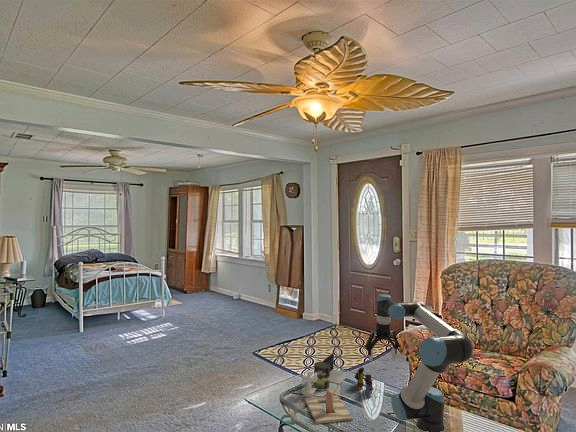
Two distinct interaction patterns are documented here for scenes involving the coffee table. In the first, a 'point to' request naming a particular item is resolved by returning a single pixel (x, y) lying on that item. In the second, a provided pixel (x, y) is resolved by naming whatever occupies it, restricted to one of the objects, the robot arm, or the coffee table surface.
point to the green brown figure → (322, 376)
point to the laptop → (335, 371)
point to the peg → (329, 401)
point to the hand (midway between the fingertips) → (382, 360)
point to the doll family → (368, 381)
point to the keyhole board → (322, 417)
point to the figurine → (309, 384)
